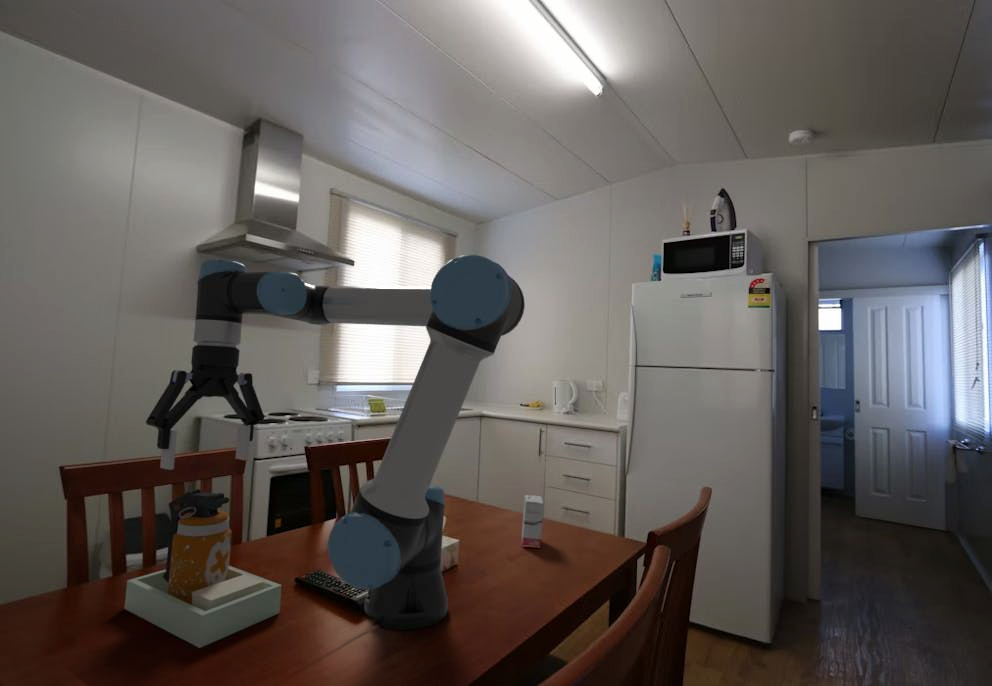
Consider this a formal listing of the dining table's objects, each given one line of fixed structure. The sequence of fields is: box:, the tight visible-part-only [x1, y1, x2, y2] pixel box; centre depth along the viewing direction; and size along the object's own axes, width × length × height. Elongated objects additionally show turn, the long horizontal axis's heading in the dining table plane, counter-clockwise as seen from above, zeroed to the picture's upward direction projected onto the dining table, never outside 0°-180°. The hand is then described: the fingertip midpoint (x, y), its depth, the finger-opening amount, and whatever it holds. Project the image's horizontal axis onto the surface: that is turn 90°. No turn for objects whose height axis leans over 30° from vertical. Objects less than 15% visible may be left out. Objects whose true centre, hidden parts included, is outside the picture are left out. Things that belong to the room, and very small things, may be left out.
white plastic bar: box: [192, 575, 263, 611], centre depth 85 cm, size 5×9×6 cm, turn 151°
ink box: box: [521, 494, 545, 547], centre depth 136 cm, size 9×5×12 cm, turn 179°
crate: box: [123, 565, 282, 649], centre depth 88 cm, size 22×14×6 cm, turn 61°
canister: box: [163, 488, 232, 605], centre depth 90 cm, size 9×11×20 cm
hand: (206, 463), depth 91 cm, fingers open, 13 cm apart
